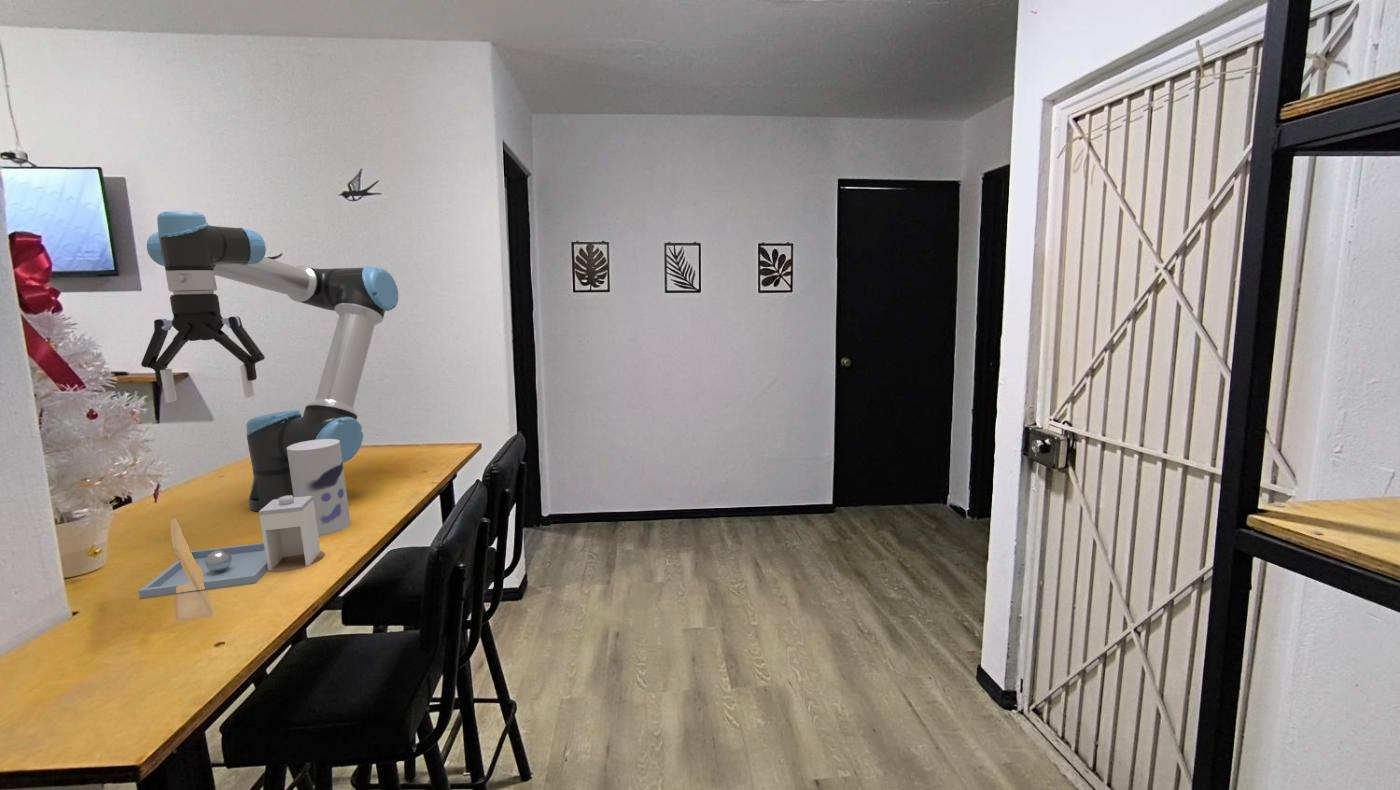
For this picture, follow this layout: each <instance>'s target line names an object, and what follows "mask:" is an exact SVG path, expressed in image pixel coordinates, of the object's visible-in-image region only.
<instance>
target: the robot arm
mask: <svg viewBox="0 0 1400 790" xmlns="http://www.w3.org/2000/svg"><path fill="white" fill-rule="evenodd" d="M156 221H157V231H156V232H154V233H152V234H150V235H149V237H148V239H147V241H146V251H147V254H148V255H149V257H150V258H151V260H152V261H153V262H155V264H157V265H160V266H162V267H164V270H165V277H166V283H167V288H168V291H169V292H171V293H173V294H172V295H171V294H170V297H169V301H170V306H171V313H172V315H173V318H172V319H171V320H170V319H166V318H159V319H158V318H157V319H155V320H153V327H154V328H153V329H154V330H153V333H152V336H151V338H150V341H149V343H148V346H147V349H146V350H145V353H144V356H143V357H142V360H141V364H140V365H141V366H142V368H149V369H153V370H154V372H155V374H154V375H155V378H156V379H155V380H156V384H157V385H158V387H162V389H163V394H164V400H165V403H166V404H170V403H174V402H176V401H178V397H177V391H176V386H175V379H174V375H173V374H174V373H173V370H172V368H169V365H170V363H171V362H172V361H173V360H174V358H175V357H176V356H177V354H178V353H179V352H180V350H181V349H182V348H183V347H184V346H185V344H186V343H187V342H188V341H190V342H195V341H212V340H214V341H215V342H217V343H219V344H220V345H221V346H222V347H224V348H225V349H226V351H228V352H229V353H231V355H233V356H234V357H235V358H237V359H238V361H240V362H242V365H239V370H240V374H241V375H240V376H241V381H242V388H243V394H244V395H243V396H244V399H248V398H251V397H253V396H255V390H254V383H253V381H256V380H257V369H256V364H257V363H259V362H261V361H264V360H265V359H266V356H265V355H264V353H263V352H262V351H261V350H260V348H259V347H258V345H257V344H256V343H255V341H254V340H253V339H252V337H251V336H250V335H249V333H248V332H247V330H246V329H245V328H244V327H243V324H242V323H243V322H242V319H241V317H240V316H237V315H235V316H234V315H233V316H229V317H227V318H225V317H224V318H223V316H222V314H221V307H220V300H219V295H217V293H215V292H216V291H217V290H218V288H217V282H216V280H217V279H216V276H217V277H220V278H224V279H228V280H231V281H236V282H239V283H242V284H245V285H249V286H252V287H258V288H261V289H264V290H267V291H272V292H276V293H279V294H283V295H287V296H288V297H289V298H290V299H291V300H292V301H295V302H298V303H302V304H305V305H308V306H311V307H316V308H319V309H324V310H327V311H333V312H335V313H336V314H337V315H338V319H337V322H336V326H335V328H334V329H335V330H334V332H333V336H332V339H331V344H330V347H329V350H328V353H327V357H326V360H325V364H324V368H323V371H322V375H321V379H320V382H319V385H318V388H317V391H316V396H315V398H314V401H312V402H311V403H308V404H305V407H304V408H305V409H304V412H303V414H301V411H300V410H298V409H291V410H285V411H279V412H273V413H269V414H264V415H259V416H255V417H252V418H251V419H249V420H248V421H247V422H246V439H247V445H248V451H249V457H250V462H251V467H252V474H253V479H252V485H251V488H250V494H249V498H248V505H249V509H250V510H251V511H254V512H259V511H260V510H261V509H262V508H264V507H265V506H266V505H267V504H268V503H270V502H271V501H272V500H275V499H278V498H280V497H282V496H287V495H292V496H293V498H294V495H293V488H292V482H291V475H290V468H289V461H288V454H287V447H288V446H290V445H292V444H296V443H299V442H304V441H310V440H318V439H337V440H339V441H340V446H341V454H342V461H343V464H345V463H346V462H349V461H350V460H352V459H353V458H354V457H355V456H356V455H357V453H358V452H359V451H360V449H361V446H362V443H363V440H364V439H363V438H364V432H363V431H362V430H363V427H362V425H361V423H360V422H359V421H358V414H357V413H356V411H355V410H354V404H355V400H356V398H357V397H356V396H357V393H358V390H359V387H360V382H361V379H362V375H363V371H364V367H365V364H366V361H367V360H366V359H367V356H368V352H369V348H370V345H371V341H372V336H373V333H374V329H375V326H376V325H379V324H381V323H382V322H383V321H384V317H385V312H389V311H391V310H393V309H395V308H396V307H397V305H398V302H399V289H398V286H397V284H396V281H395V279H394V278H393V276H392V274H391V273H390V272H388V270H386V269H384V268H382V267H380V266H379V267H377V266H376V267H375V266H373V267H372V266H368V265H367V266H365V267H364V266H363V267H342V268H341V267H340V268H314V267H310V266H307V265H306V266H305V265H298V266H297V265H296V266H294V265H291V264H288V263H284V262H283V261H279V260H275V259H272V258H269V257H266V251H267V248H266V242H265V240H264V238H263V236H262V235H261V234H260V233H258V232H257V231H255V230H253V229H249V228H247V229H246V228H243V227H230V226H229V227H228V226H219V225H217V226H216V225H209V223H208V222H207V218H206V216H205V215H204V214H202V213H200V212H194V211H183V210H179V211H178V210H177V211H175V210H173V211H171V210H170V211H169V210H168V211H163V212H160V213H159V214H158V215H157V219H156ZM225 325H226V327H228V328H229V329H230V330H231V331H232V332H233V334H234V335H235V337H236V338H237V339H238V341H239V342H240V344H241V345H242V346H243V347H244V348H245V350H244V349H243V348H242V347H241V346H240V345H238V344H237V343H236V342H235V341H234V340H233V339H231V338H230V337H229V336H228V334H226V333H225V332H224V331H223V330H222V329H223V327H224V326H225ZM172 327H173V328H174V329H175V330H176V331H177V333H176V334H175V336H174V337H173V339H172V341H171V342H170V344H169V345H168V346H167V347H166V348H165V349H164V351H163V353H161V351H162V348H163V346H164V344H165V341H166V339H167V336H168V333H169V331H171V329H172ZM160 353H161V354H160Z"/></svg>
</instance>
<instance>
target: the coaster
mask: <svg viewBox="0 0 1400 790" xmlns="http://www.w3.org/2000/svg"><path fill="white" fill-rule="evenodd" d="M324 558H325V552H323V550H320V553H319V554H318V555H317V556H316V558H315V559H314V560H313V562H312V563H311V564H310V565H309V566H306V563H305V556H304V554H303V555H295V556H287V557H283V558H282V559H281V560H280V562H279V563H278V564H277V565H276V566H275V567H274V568H273V569H272V570H270V571H268V570H267V572H272V573H286V572H291V571H296V570H301V569H304V568H308V567H310V566H312V565H314V564H317V563H319V562H320V561H321V560H323V559H324Z"/></svg>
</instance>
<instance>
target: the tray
mask: <svg viewBox="0 0 1400 790" xmlns="http://www.w3.org/2000/svg"><path fill="white" fill-rule="evenodd" d="M218 550H223V551H226V552H228V553H229V554H230V555H231V558H232V561H231V564H230V566H229V567H228V568H227V569H225V570H223V571H220V572H213V571H210V570H209V569H208V568H207V567H206V565H205V561H206V558H207V557H208V555H209V554H211V553H212V552H214V551H218ZM191 553H192V555H193V557H194V559H195V561H196V563H197V564H198V565H199V566H200V568H201V569H202V573H203V577H204V581H203V583H204V587H205V590H204V591H208V590H215V589H222V588H230V587H231V588H232V587H237V586H245V585H255V584H257V583H258V582H259V580H260V579H261V578H262V577H263V576H264V575H265V574H266V573H267V572H268V571H267V570H268V567H267V561H266V555H265V548H264V542H258V543H251V544H250V543H247V544H241V545H240V544H239V545H232V546H223V547H216V548H215V547H214V548H207V549H198V550H197V549H196V550H191ZM188 582H189V578H188V576H187V574H186V573H185V571H184V569H183V567H182V565H181V562H180V561H179V559H178V560H176V561H175V562H174V563H173V564H171V565H170V566H168V568H166V569H165V570H163V571H162V572H161V573H160V574H158V575H157V576H155V578H153V579H152V580H150V582H148V583H147V584H146V585H145V586H143V587H142V588H140V589H139V590H138V593H139V598H140V600H141V599H147V598H154V597H163V596H169V595H171V596H172V595H177V594H176V587H177V586H179V585H184V584H190V583H191V582H190V583H188Z"/></svg>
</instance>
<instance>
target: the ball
mask: <svg viewBox="0 0 1400 790" xmlns="http://www.w3.org/2000/svg"><path fill="white" fill-rule="evenodd" d="M231 561H232V558H231V555H230V554H229V553H228V552H226V551H223V550H218V551H214V552H212V553H211V554H209V555H208V557H207V558H206V561H205V565H206V567H207V568H208V569H209V570H210V571H213V572H220V571H223V570H225V569H227V568H228V567H229V566H230V564H231Z"/></svg>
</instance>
